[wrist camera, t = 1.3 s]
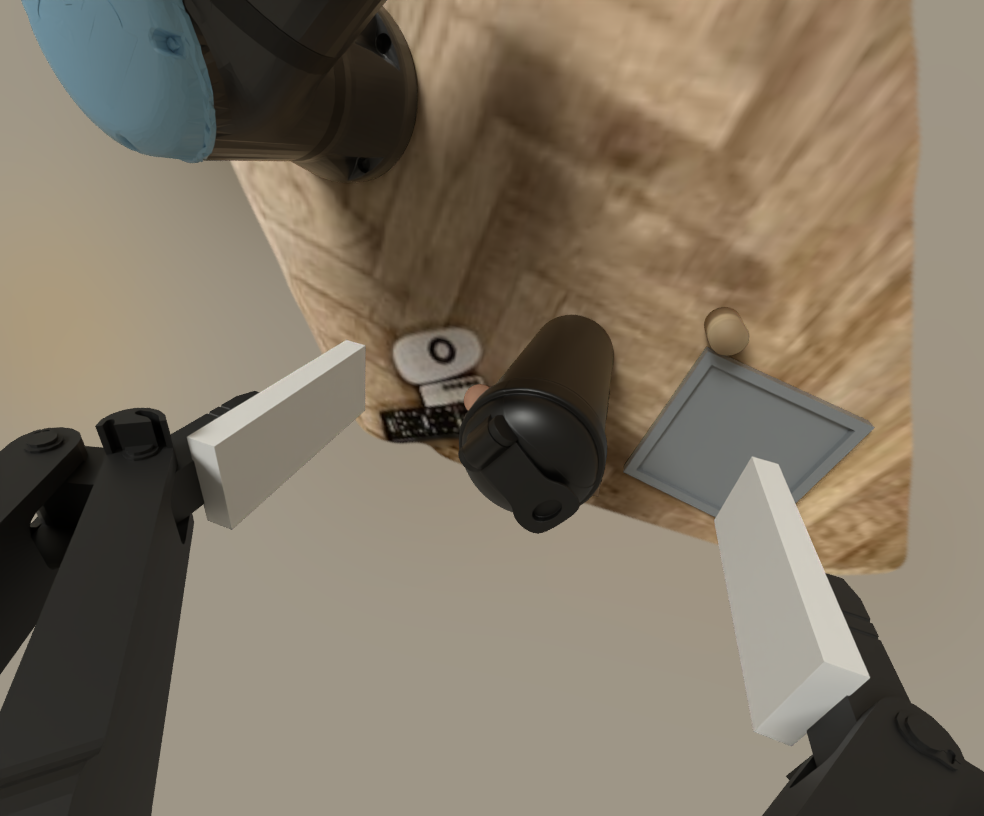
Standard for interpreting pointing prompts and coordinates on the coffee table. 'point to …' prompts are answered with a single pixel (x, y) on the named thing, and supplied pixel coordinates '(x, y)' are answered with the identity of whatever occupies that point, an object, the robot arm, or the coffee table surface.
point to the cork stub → (726, 331)
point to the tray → (740, 434)
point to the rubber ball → (473, 394)
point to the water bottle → (543, 425)
